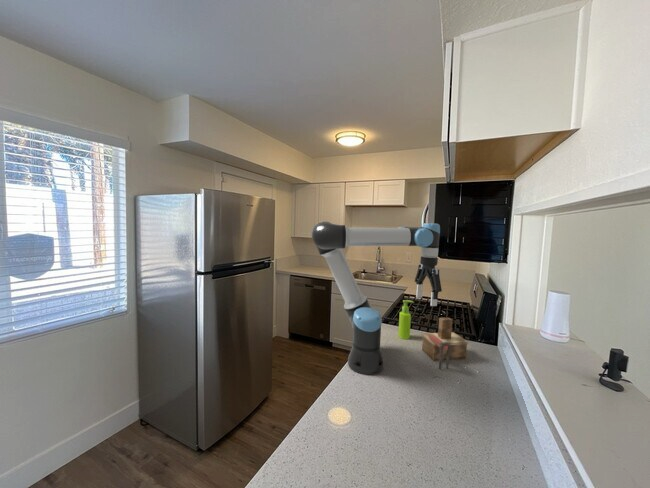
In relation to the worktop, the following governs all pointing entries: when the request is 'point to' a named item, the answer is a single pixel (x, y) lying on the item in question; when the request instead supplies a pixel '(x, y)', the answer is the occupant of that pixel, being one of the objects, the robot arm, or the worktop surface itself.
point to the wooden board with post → (446, 333)
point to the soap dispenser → (404, 321)
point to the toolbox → (444, 352)
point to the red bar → (437, 341)
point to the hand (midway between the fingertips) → (426, 301)
